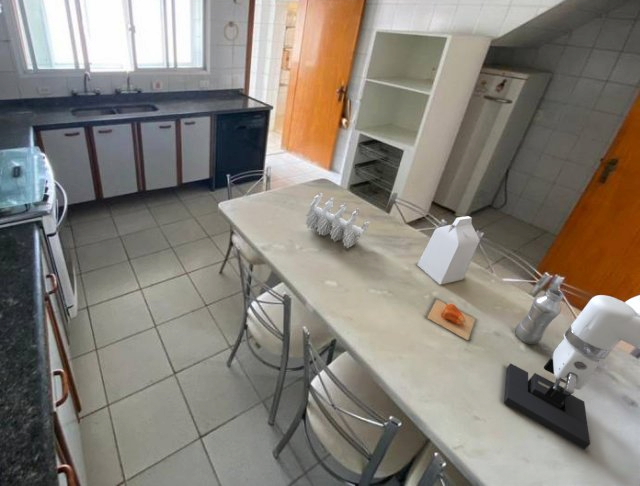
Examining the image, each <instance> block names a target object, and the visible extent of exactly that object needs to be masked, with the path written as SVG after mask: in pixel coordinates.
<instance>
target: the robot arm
mask: <svg viewBox="0 0 640 486" xmlns="http://www.w3.org/2000/svg"><path fill="white" fill-rule="evenodd" d="M621 341H623V342H624V343H626V344H627V345H630V346H632V347H634V348H636V349H637V350H639V351H640V294H639V295H636V296H633V297H631V298H629V299H627V300H626V301H622V300H620V299H618V298H616V297H613V296H610V295H605V294H600V295H598V294H597V295H595V296H593V297H591V299H590V300H589V301H588V303H587V304H586V305H585V306H584V308H583V309H582V311H581V312H580V313H579V314H578V316H577V317H576V318H575V320H574V321H573V322H572V324H570V326H569V327H568V328H567V329H566V331H565V333H564V334H563V339H562V341H560V342H559V344H558V346H556V348H555V350H554V351H553V353H552V355H551V357H550V358H549V359H548V360H547V361H546V363H545V364H544V366H543V369H544V370H545V371H547V372H549V373H550V374H553V375H554V378H555V381H554V383H555V384H554V386H553V385H551V386H550V388H549V389H548V390H547V391H546V392H545V397H547V398H549V399H551V400H553V401H555V402H556V403H558V404H561V403H562V402H563V401H564V400H565V399H566V397H567V396H570V395H573V394H574V393H575V389H576V390H579V391H580V390H582V388H583V387H584V386H585V385H586V383H587V382H588V381H589V380H590V378H591V376H592V375H593V374H594V372H595V370H596V369H597V367H598V365H599V363H600V361H601V360H605V358H606V357H607V356H608V355H609V354H610V353H611V352H612V351H613V350H614V349H615V347H616V346H617V345H619V343H620V342H621ZM564 378H565V379H566V380H565V379H564ZM561 382H562V383H564V386H561V385H560V384H561Z"/></svg>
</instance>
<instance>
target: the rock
mask: <svg viewBox="0 0 640 486" xmlns="http://www.w3.org/2000/svg"><path fill="white" fill-rule="evenodd" d="M427 319H428V320H430V321H432V322H433V323H436V324H438V325H439V326H442V327H443V328H445V329H446V330H448V331H450V332H451V333H453V334H456V335H457V336H459V337H461V338H462V339H464V340H466V341H469V339H470V336H471V333H472V331H473V327H474V325H475V322H476V318H474V317H472V316H470V315H468V314H467V313H464V312H463V311H461V310H460V309H459V308H458V307H457V306H456V305H455V304H454V303H450V302H447V303H445V302H443V301H441V300H438V299H435V301H434V304H433V306H432V307H431V310H430V311H429V313H428V314H427Z"/></svg>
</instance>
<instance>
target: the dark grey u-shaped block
mask: <svg viewBox="0 0 640 486" xmlns="http://www.w3.org/2000/svg"><path fill="white" fill-rule="evenodd" d="M505 372H506V373H505V381H504V382H505V383H504V394H503V395H504V396H503V404H505V405H506V406H508V407H510V408H512V409H513V410H515V411H516V412H518V413H521V414H522V415H523V416H525V417H527V418H529V419H530V420H532V421H534V422H536V423H537V424H539V425H541V426H543V427H544V428H546V429H548V430H550V431H551V432H553V433H555V434H557V435H558V436H560V437H561V438H563V439H565V440H566V441H568V442H570V443H572V444H573V445H576V446H577V447H579V448H581V449H582V450H586V449H587V448H589V446H590V445H591V440H590V433H589V426H588V417H587V411H586V404H585V401H584V400H583V399H580V398H579V397H577V396H574V395H573V394H571V395H570V396H567V397H566V399H565V400H564V405H563V406H562V407H561V409H558V408H556V407H555V406H553V405H551V404H549V403H547V402H545V401H544V400H542V399H540V398H538V397H536V396H534V395H533V394H531V393H529V392H528V381H529V372H528V371H526V370H524V369H522V368H521V367H519V366H517V365H515V364H513V363H511V362H510V363H509V364H508V366H507V367H506V371H505Z"/></svg>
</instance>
